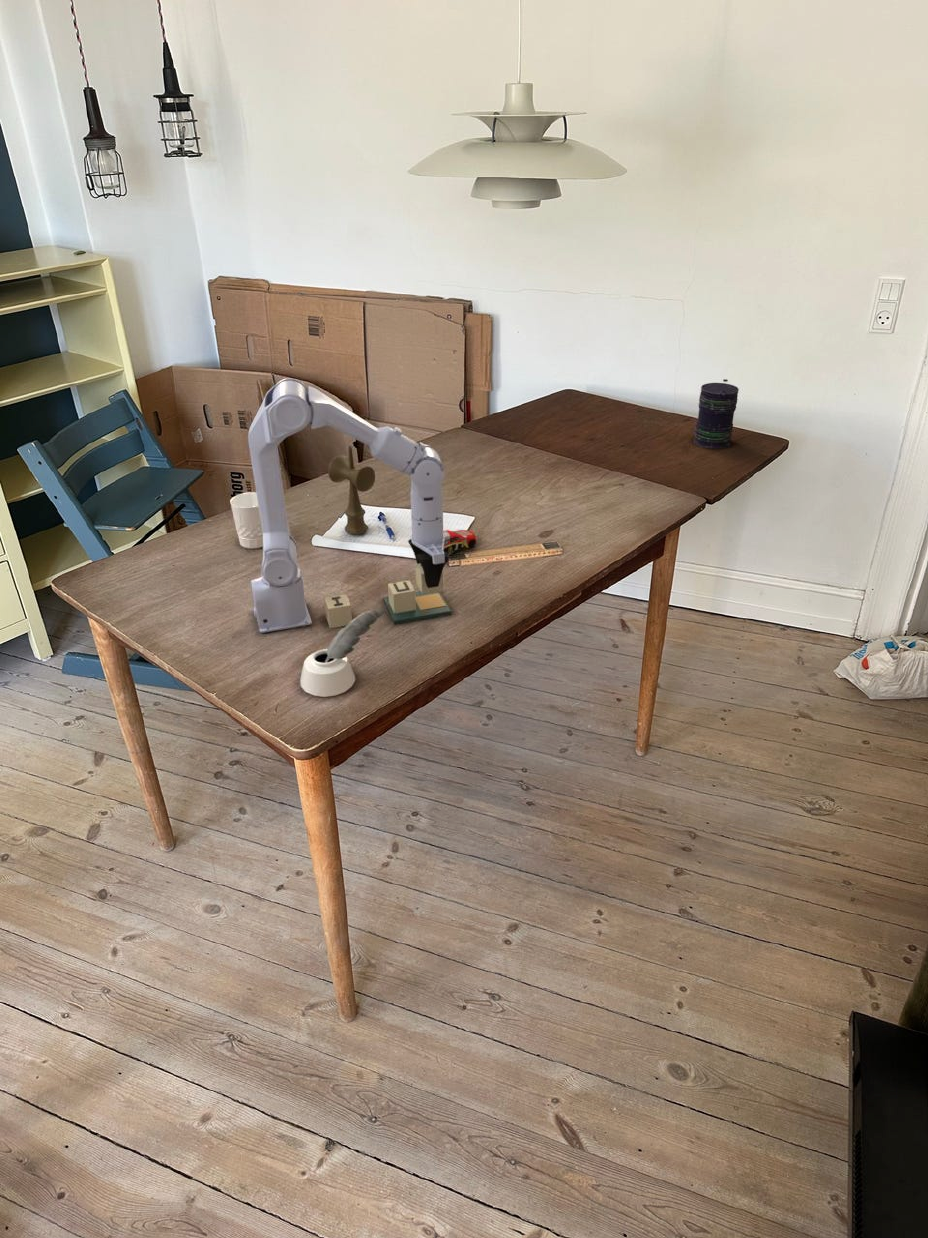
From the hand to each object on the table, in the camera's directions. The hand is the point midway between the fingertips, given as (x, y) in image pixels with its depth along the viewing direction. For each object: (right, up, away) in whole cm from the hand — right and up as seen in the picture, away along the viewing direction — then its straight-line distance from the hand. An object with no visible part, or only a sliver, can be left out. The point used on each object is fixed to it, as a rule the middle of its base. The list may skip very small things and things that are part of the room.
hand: (429, 580), depth 166 cm
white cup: (-39, +9, +26) cm, 48 cm away
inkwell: (-13, -16, -15) cm, 26 cm away
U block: (-5, -5, +1) cm, 7 cm away
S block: (0, -1, +1) cm, 1 cm away
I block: (-17, -8, -2) cm, 18 cm away
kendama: (-17, +12, +30) cm, 37 cm away
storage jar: (+74, +41, +76) cm, 114 cm away
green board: (-2, -5, +2) cm, 6 cm away
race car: (+3, +7, +23) cm, 24 cm away
